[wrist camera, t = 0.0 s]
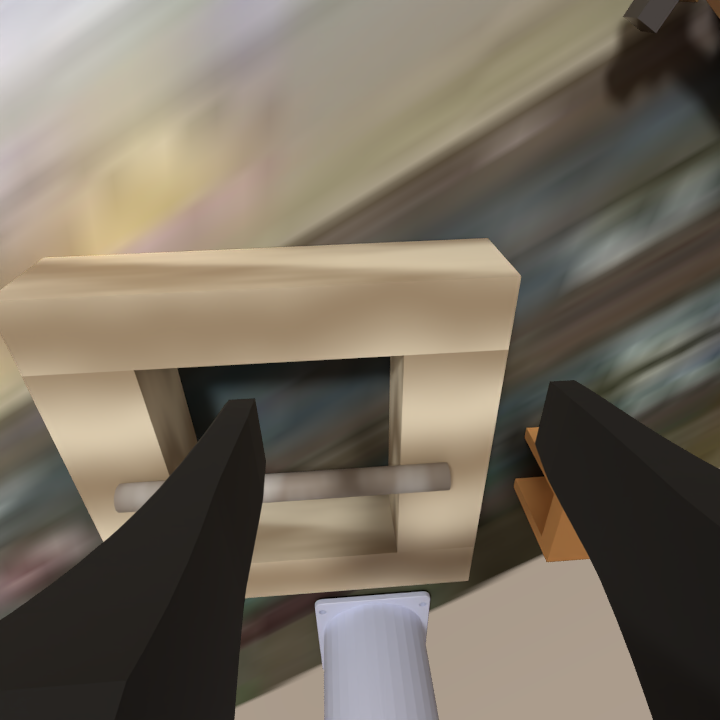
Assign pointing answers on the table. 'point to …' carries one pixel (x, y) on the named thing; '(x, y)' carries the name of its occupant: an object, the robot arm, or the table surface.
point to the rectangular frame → (270, 345)
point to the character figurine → (657, 12)
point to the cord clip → (547, 513)
